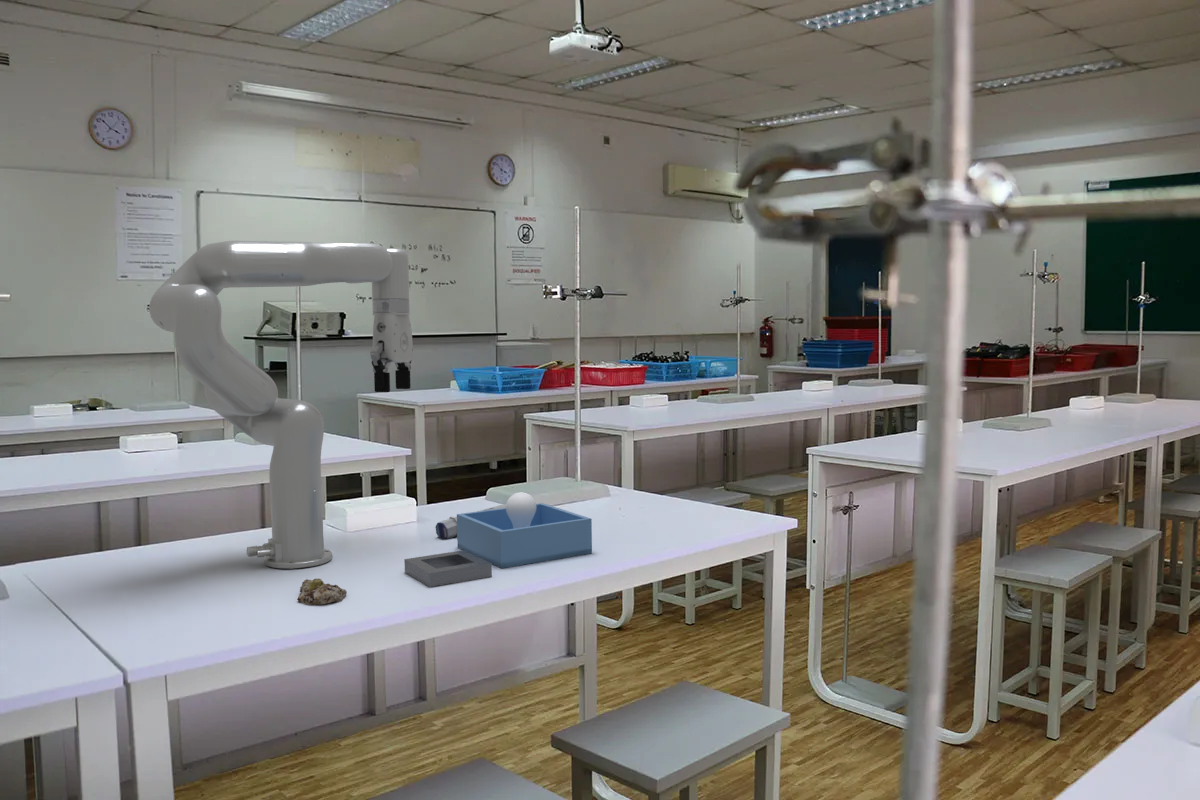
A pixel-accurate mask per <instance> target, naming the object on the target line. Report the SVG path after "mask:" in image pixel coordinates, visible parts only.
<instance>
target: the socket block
mask: <svg viewBox="0 0 1200 800" xmlns="http://www.w3.org/2000/svg"><path fill="white" fill-rule="evenodd" d="M492 565H493V564H492V563H490V562H488V561H486V560H484V559H482V558H480V557H477V556H475V555H473V554H471V553H469V552H467V551H465V550H461V549H460V550H457V551H456V550H455V551H449V552H443V553H437V554H430V555H424V556H417V557H411V558H405V559H404V573H405V574H406V575H408V576H410V577H412V578H414V579H415V580H417V581H419V582H420V583H422V584H423V583H424V584H423V585H425V584H426V585H425V586H427V587H429V588H433V586H435V587H439V586H438V585H440V586H445V585H444V584H446V585H450V584H449V583H452V584H456V583H455V582H458V583H462V582H463V581H464V582H468V581H469V582H470V581H475V580H480V579H486V578H492V577H493V573H492V570H493V569H492V568H493V567H492Z"/></svg>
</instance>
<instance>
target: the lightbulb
mask: <svg viewBox="0 0 1200 800" xmlns="http://www.w3.org/2000/svg"><path fill="white" fill-rule="evenodd" d="M505 504H506V512H507V514H508V516H509V518H510V520H511V522H512V524H513V528H514V529H515V528H522V527H529V526H530V524H531V521H532V519H533V517H534V515H535V512H536V504H537V503H536V500H535V499H534V497H533V496H532V495H531V494H529V493H527V492H522V491H521V492H515V493H514V494H511V495H510V497H509V498H508V499H507V500H506V503H505Z"/></svg>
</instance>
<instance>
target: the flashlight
mask: <svg viewBox="0 0 1200 800" xmlns="http://www.w3.org/2000/svg"><path fill="white" fill-rule="evenodd" d="M500 508H506V503H504V504H499V505H497V506H492V507H489V508H485V509H480V510H479V511H485V510H493V509H500ZM435 535H437V537H438V538H439V539H441V540H448V539H452V538H455V537H456V538H457V516H449V518H447V519H445V520H441V521H439V522H437V523H436V525H435Z"/></svg>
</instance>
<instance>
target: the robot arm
mask: <svg viewBox="0 0 1200 800" xmlns="http://www.w3.org/2000/svg"><path fill="white" fill-rule="evenodd" d="M409 269H410V268H409V254H408V253H407V251H406V250H405V249H403V248H393V247H389V248H388V247H384V246H382V245H380V244H377V243H361V242H359V243H357V242H352V243H351V242H312V241H274V240H273V241H272V240H271V241H265V240H264V241H263V240H261V241H260V240H225V241H221V242H220V241H219V242H213V243H209V244H208V243H207V244H205V245H204V246H202V247H200V248H199V249H198V250H196V251H195V252H194V253H192V255H191V256H190V257H188V259H187V260H186V261H185V262H184V263H183V264H182V265H180V267H179V268H178V269H176V270H175V272H174V273H172V275H170V276H169V278H167V279H166V280H165V281H164V282H163V283H162V284H161V285H160V286H159V287H157V289H156V290H155V292H154V293H153V295H152V297H151V298H150V301H149V304H148V305H149V308H148V310H149V315H150V318H151V320H152V321H153V323H154V324H155V325H156V326H157V327H159V328H160V329H162V330H164V331H167V332H169V333H170V332H171V333H174V342H175V343H174V344H175V349H176V353H177V356H178V360H179V361H180V364H182V366H183V368H184V369H185V370H186V371H187V372H188V373H189V374H190V375H191V376H193V377H194V379H196V380H197V381H198V382H199V383H201V384H202V385H203V392H204V398H205V399H206V401H207V404H208V405H209V406H210V408H212V410H213V411H215V413H217V414H218V415H219V416H221V417H222V418H223V419H225V420H226V421H227V422H228V423H230V424H231V425H233V426H234V427H236V428H237V429H239V430H240V431H241V432H243V434H245V435H247V436H248V437H250V438H251V439H252V440H254V441H256V442H258V443H260V444H263V445H266V446H273V449H272V453H271V457H270V461H269V462H270V463H269V472H268V473H269V476H268V477H269V478H268V479H269V491H270V493H269V494H270V495H269V498H270V516H271V517H270V518H271V520H270V521H271V537H272V538H268V540H267V542H264V543H263V544H262V545H253V546H247V547H246V556H247V558H251V557H256V558H264V564H265V565H266V567H267V566H268V567H270V568H274V569H285V570H286V569H302V568H309V567H310V568H311V567H314V566H320V565H323V564H326V563H328V562H330V561H331V560H332V559H333V551H331V550H329V549H327V548H325V547H324V545H325V543H324V521H323V520H324V518H323V513H324V512H323V494H322V493H323V491H322V490H323V489H322V469H321V468H322V465H321V463H322V461H321V457H322V447H323V440H324V434H325V424H324V419H323V416H322V414H321V412H320V411H319V409H318V408H316V406H314V405H313V404H312V403H310V402H307V401H306V400H305V401H304V400H301V399H295V398H293V399H292V398H280V397H279V391H278V387H277V384H276V383H275V381H274V380H273V378H272V377H271V376H270V375H269V374H268V373H267V372H265V371H264V370H263V369H261V368H260V367H259V366H257V365H256V364H254V363H253V362H252V361H251V360H250V359H248V358H247V357H245V356H244V355H243V354H242V353H240V352H239V351H238V350H237V349H236V348H235V347H234V346H233V345H231V344H230V343H229V342H228V340H227V339H226V338H225V335H224V333H223V329H222V306H221V301H220V299H219V297H218V295H219V294H220V293H221V291H223V289H230V288H278V287H279V288H282V287H286V288H287V287H290V288H291V287H293V288H294V287H309V286H316V285H324V284H334V283H336V284H337V283H347V284H363V283H364V284H365V283H371V296H372V297H371V299H372V301H371V302H372V316H374V317H373V325H372V327H373V328H372V349H371V350H370V353H369V354H370V355H369V356H370V359H371V365H372V367H373V368H372V372H373V378H374V379H373V380H374V382H373V383H374V392H375V393H390V391H391V379H390V376H391V375H390V374H391V372H389V368H390V365H391V363H393V364H394V365H395V366H396V369H395V371H394V372H395V373H394V374H395V389H397V390H410V389H411V387H412V386H411V369H412V366H411V364H412V361H413V359H414V345H413V344H414V343H413V334H412V324H411V319H410V315H411V314H410V282H409V281H410V278H409V277H410V276H409V273H410V272H409Z"/></svg>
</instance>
